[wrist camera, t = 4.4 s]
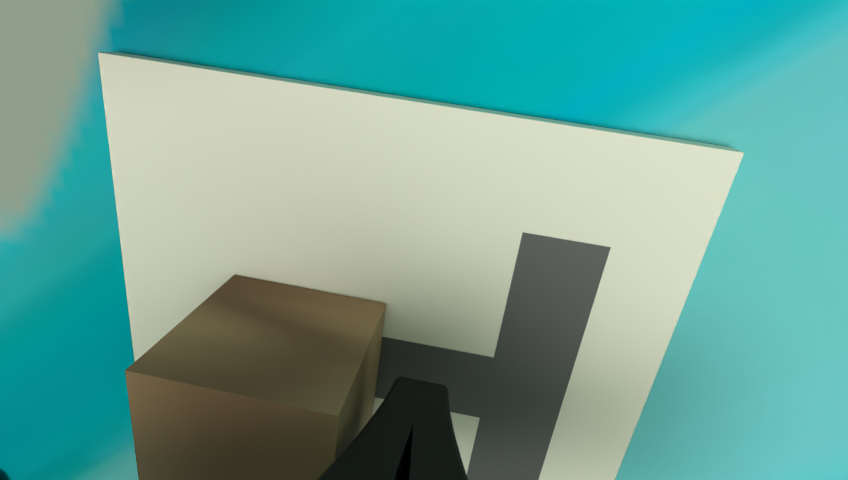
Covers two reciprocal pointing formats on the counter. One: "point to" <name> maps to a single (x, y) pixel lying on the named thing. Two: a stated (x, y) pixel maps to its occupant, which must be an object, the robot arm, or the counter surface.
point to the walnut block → (256, 384)
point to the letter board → (425, 241)
